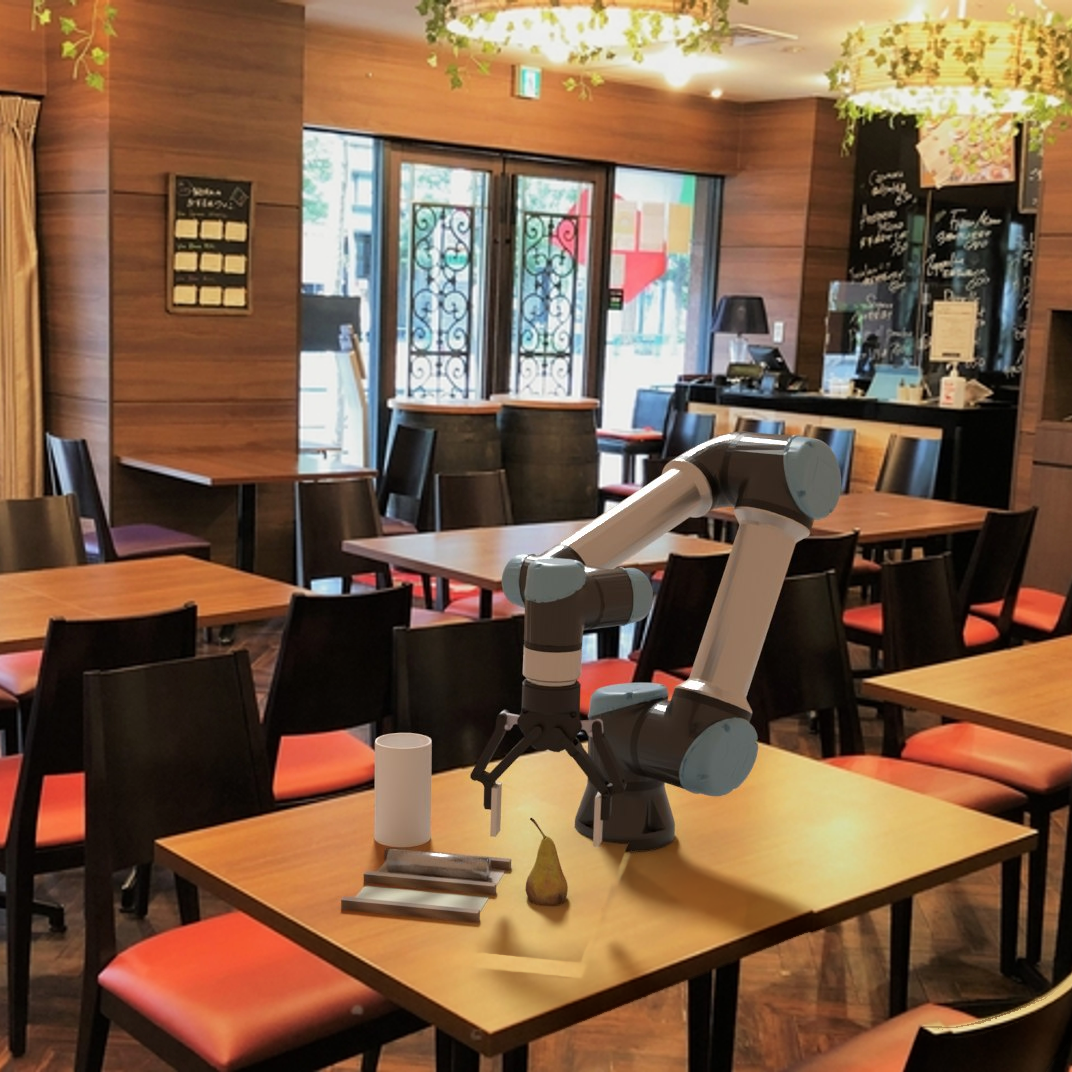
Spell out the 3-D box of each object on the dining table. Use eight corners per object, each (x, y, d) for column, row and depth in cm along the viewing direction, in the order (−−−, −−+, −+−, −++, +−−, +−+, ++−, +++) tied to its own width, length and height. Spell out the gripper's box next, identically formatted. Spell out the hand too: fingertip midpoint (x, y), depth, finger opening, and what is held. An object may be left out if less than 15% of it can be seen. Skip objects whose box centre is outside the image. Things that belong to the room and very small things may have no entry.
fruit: (536, 919, 194) (538, 830, 192) (518, 903, 199) (520, 816, 197) (575, 913, 196) (577, 825, 194) (557, 898, 201) (559, 812, 200)
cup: (421, 858, 215) (422, 750, 213) (367, 853, 217) (367, 745, 214) (436, 839, 223) (438, 735, 221) (384, 834, 225) (384, 731, 222)
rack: (510, 876, 209) (511, 858, 208) (477, 932, 189) (477, 913, 189) (386, 865, 212) (386, 847, 212) (341, 919, 193) (341, 899, 192)
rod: (491, 872, 205) (490, 853, 204) (486, 884, 203) (485, 865, 202) (393, 863, 208) (391, 844, 207) (386, 875, 205) (385, 856, 204)
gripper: (651, 680, 195) (644, 838, 197) (464, 666, 199) (460, 820, 202) (644, 693, 187) (637, 857, 190) (450, 678, 192) (446, 838, 195)
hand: (546, 838), depth 196 cm, fingers open, 13 cm apart
